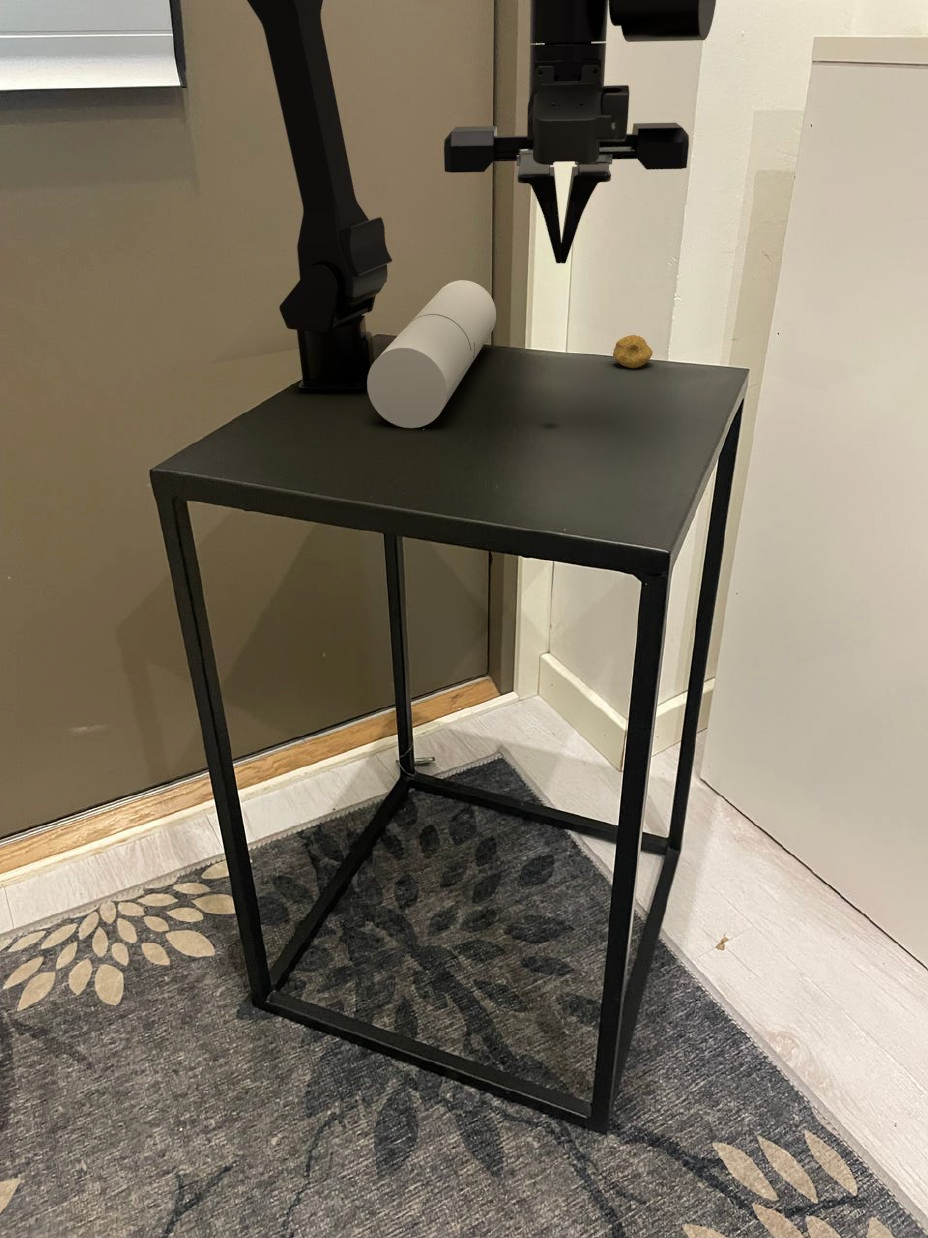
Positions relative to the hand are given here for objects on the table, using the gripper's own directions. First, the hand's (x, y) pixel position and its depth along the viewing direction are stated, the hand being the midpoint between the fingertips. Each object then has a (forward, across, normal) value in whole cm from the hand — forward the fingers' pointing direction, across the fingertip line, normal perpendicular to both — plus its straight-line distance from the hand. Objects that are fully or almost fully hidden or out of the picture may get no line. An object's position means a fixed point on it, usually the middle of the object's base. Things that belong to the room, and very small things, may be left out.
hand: (560, 262), depth 77 cm
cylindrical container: (+10, -13, -4) cm, 17 cm away
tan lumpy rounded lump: (+13, +8, +14) cm, 21 cm away
